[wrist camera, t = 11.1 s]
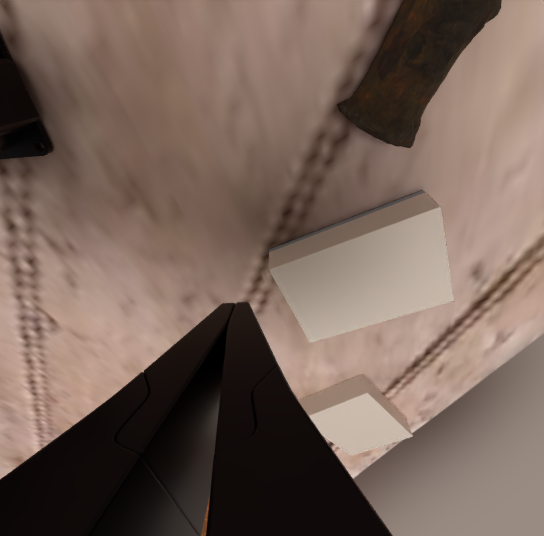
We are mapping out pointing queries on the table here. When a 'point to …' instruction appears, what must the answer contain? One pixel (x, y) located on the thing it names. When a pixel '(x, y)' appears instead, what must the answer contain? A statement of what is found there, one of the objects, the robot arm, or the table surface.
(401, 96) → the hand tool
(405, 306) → the flat tile
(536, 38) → the table surface
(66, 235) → the table surface
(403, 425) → the white rectangular block
